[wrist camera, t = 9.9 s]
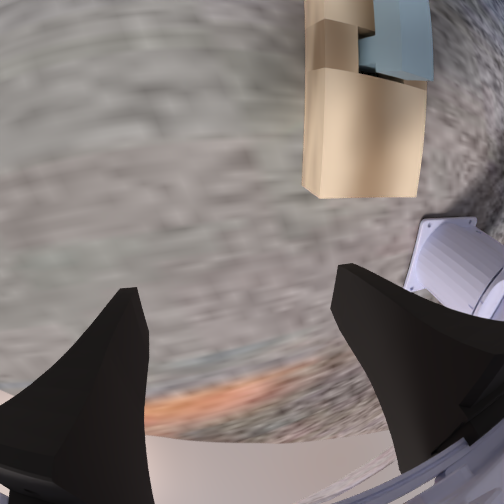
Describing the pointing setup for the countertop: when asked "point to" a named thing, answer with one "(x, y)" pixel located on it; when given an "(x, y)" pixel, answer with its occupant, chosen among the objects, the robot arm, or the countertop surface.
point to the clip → (399, 41)
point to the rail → (356, 111)
